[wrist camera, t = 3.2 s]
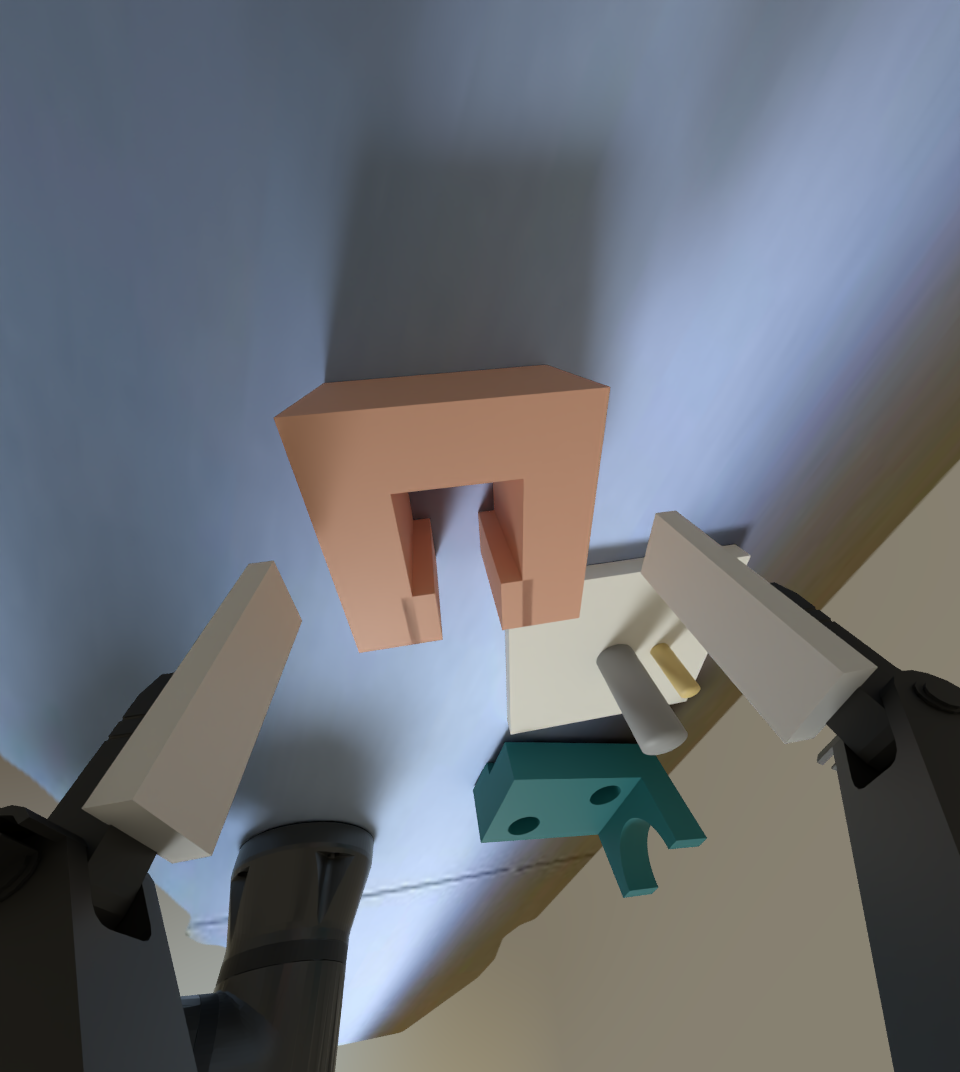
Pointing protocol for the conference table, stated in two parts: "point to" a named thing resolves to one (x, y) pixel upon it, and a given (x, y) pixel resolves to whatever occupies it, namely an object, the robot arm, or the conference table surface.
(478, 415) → the orange arch block
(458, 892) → the conference table surface
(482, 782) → the teal l-shaped bracket
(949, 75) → the conference table surface
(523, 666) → the base
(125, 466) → the conference table surface
